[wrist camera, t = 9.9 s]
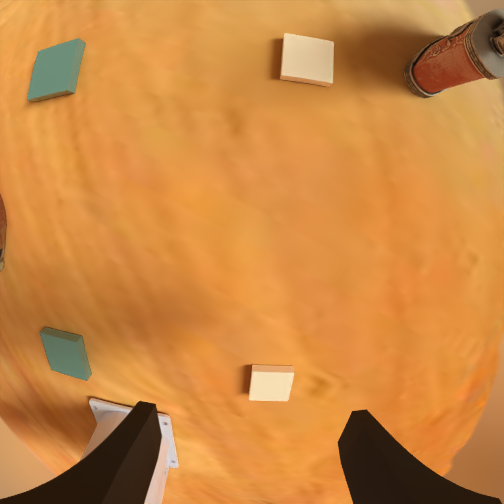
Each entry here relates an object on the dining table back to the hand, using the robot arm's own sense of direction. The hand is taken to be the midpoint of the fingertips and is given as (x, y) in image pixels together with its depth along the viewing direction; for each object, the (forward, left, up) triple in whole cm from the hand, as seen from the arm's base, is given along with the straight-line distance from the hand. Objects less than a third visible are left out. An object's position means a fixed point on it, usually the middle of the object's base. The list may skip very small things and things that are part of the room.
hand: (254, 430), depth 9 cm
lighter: (+19, -12, -10) cm, 25 cm away
